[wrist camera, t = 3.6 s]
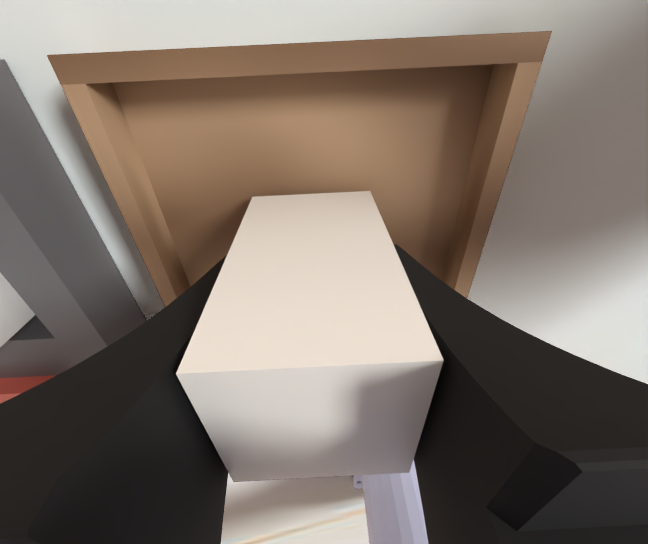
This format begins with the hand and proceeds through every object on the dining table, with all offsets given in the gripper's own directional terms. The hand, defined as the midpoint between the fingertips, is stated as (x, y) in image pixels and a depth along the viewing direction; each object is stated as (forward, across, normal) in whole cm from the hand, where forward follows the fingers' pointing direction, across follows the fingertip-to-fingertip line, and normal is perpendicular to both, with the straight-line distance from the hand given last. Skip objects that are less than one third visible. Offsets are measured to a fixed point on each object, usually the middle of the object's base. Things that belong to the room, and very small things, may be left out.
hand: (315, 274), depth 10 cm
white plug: (+2, 0, 0) cm, 2 cm away
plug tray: (+3, 0, 0) cm, 3 cm away
